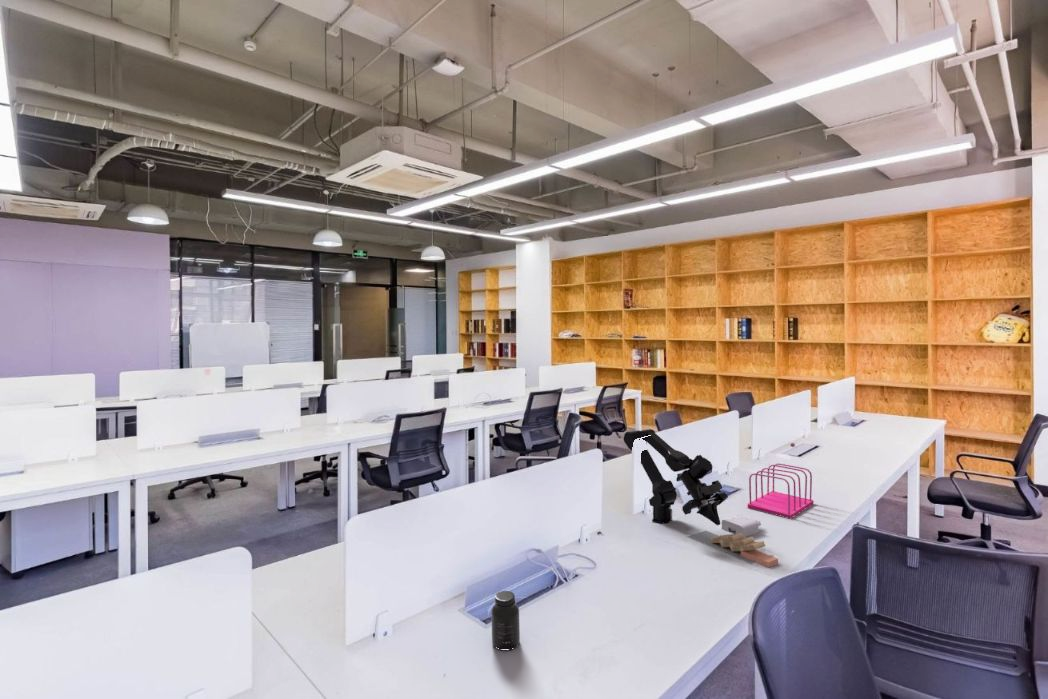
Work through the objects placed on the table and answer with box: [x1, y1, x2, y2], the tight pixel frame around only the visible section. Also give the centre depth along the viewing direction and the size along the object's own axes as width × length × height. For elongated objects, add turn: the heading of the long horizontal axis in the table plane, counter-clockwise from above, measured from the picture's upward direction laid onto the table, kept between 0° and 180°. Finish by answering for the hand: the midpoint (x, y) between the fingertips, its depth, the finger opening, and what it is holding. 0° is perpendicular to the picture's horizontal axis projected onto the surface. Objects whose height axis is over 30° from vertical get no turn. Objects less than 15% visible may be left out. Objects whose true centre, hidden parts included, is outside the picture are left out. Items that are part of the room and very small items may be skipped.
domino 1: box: [711, 533, 745, 543], centre depth 180 cm, size 2×5×10 cm
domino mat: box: [686, 530, 756, 565], centre depth 180 cm, size 26×10×1 cm, turn 31°
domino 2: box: [720, 536, 755, 547], centre depth 176 cm, size 2×5×10 cm
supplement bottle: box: [490, 590, 521, 650], centre depth 127 cm, size 7×7×12 cm
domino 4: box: [741, 549, 779, 568], centre depth 169 cm, size 2×5×10 cm
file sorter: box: [746, 463, 815, 519], centre depth 220 cm, size 17×25×16 cm
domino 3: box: [730, 540, 766, 552], centre depth 173 cm, size 2×5×10 cm
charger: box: [721, 514, 762, 538], centre depth 195 cm, size 5×9×15 cm
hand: (719, 524), depth 182 cm, fingers closed
